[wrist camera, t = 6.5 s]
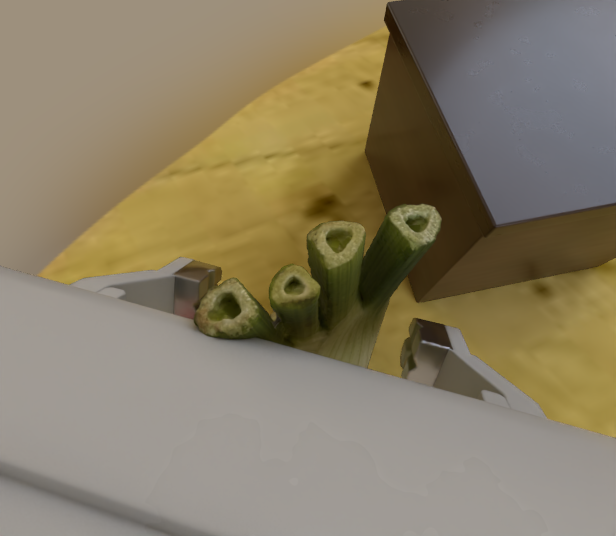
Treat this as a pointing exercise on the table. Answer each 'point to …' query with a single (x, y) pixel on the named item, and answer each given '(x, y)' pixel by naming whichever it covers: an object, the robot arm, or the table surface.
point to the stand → (500, 136)
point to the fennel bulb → (328, 289)
